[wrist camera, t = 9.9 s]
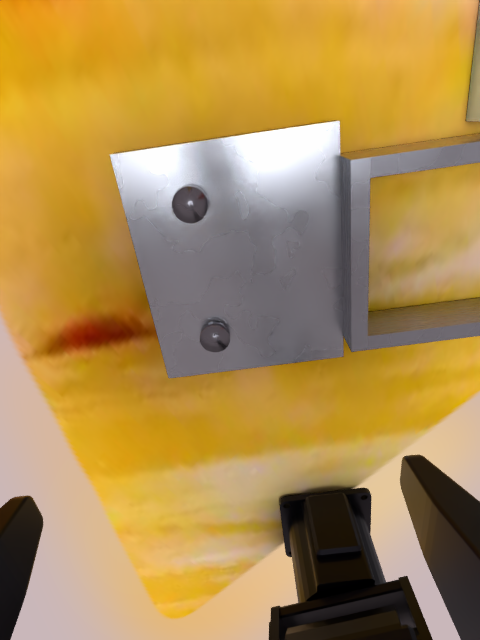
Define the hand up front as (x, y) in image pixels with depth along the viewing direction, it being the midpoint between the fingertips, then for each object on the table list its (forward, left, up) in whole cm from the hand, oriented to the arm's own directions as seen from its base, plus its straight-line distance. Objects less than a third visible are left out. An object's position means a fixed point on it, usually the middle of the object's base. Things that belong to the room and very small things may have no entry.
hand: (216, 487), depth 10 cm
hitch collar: (+1, -6, -13) cm, 14 cm away
